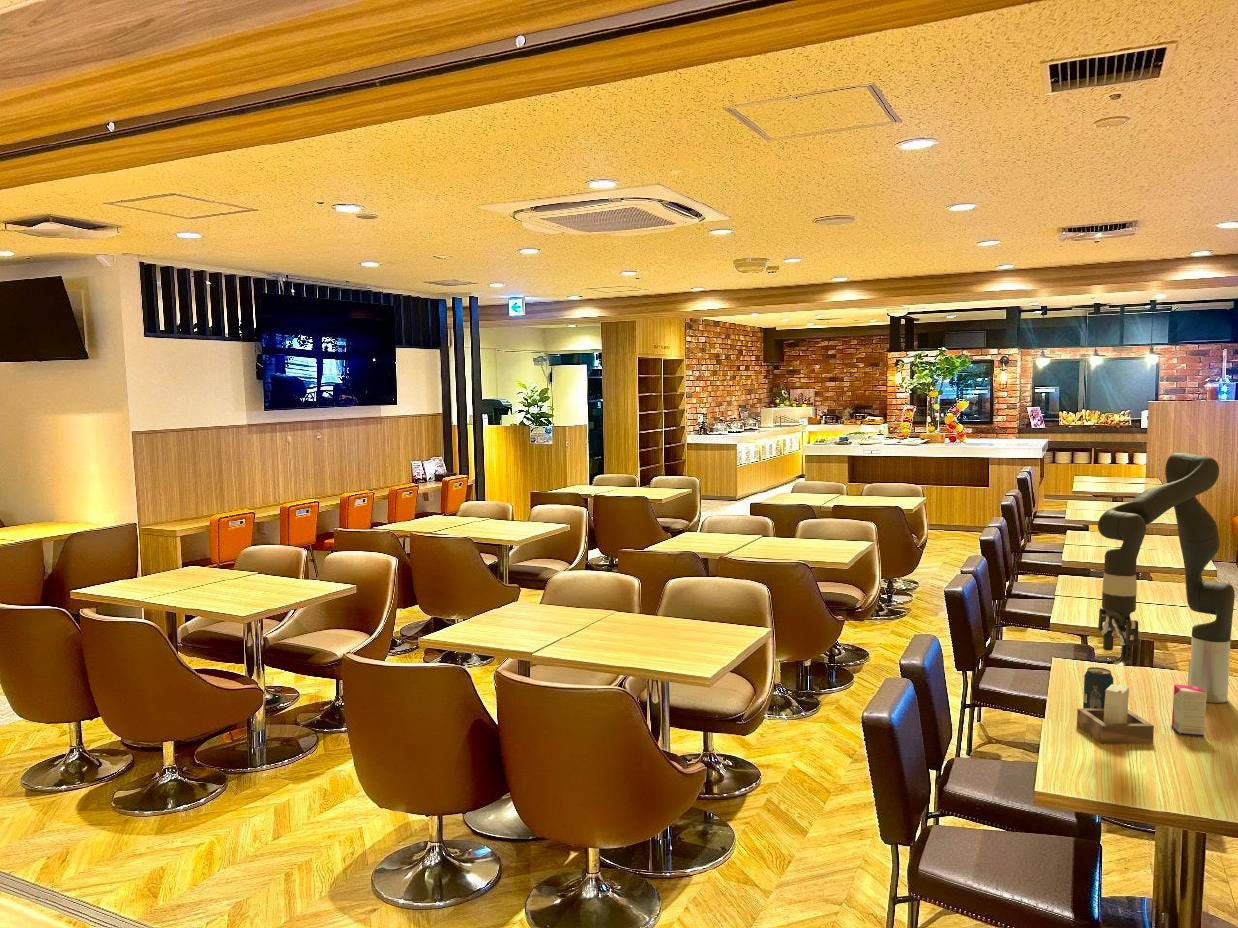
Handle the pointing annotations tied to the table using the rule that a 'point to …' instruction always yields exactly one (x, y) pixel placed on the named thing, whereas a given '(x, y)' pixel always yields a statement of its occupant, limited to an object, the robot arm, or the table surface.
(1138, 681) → the table surface
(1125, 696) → the skincare box
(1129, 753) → the table surface
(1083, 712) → the brown wooden square frame
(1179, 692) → the supplement box
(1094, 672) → the soda can
